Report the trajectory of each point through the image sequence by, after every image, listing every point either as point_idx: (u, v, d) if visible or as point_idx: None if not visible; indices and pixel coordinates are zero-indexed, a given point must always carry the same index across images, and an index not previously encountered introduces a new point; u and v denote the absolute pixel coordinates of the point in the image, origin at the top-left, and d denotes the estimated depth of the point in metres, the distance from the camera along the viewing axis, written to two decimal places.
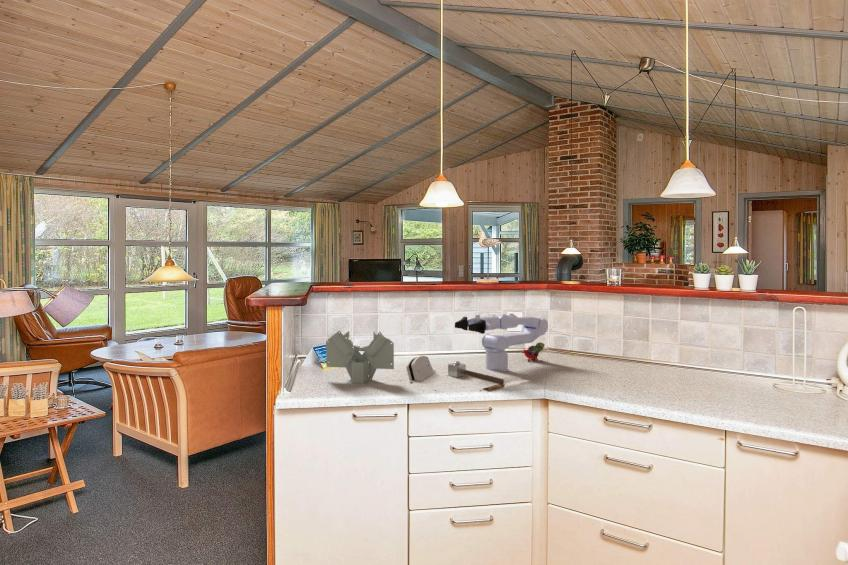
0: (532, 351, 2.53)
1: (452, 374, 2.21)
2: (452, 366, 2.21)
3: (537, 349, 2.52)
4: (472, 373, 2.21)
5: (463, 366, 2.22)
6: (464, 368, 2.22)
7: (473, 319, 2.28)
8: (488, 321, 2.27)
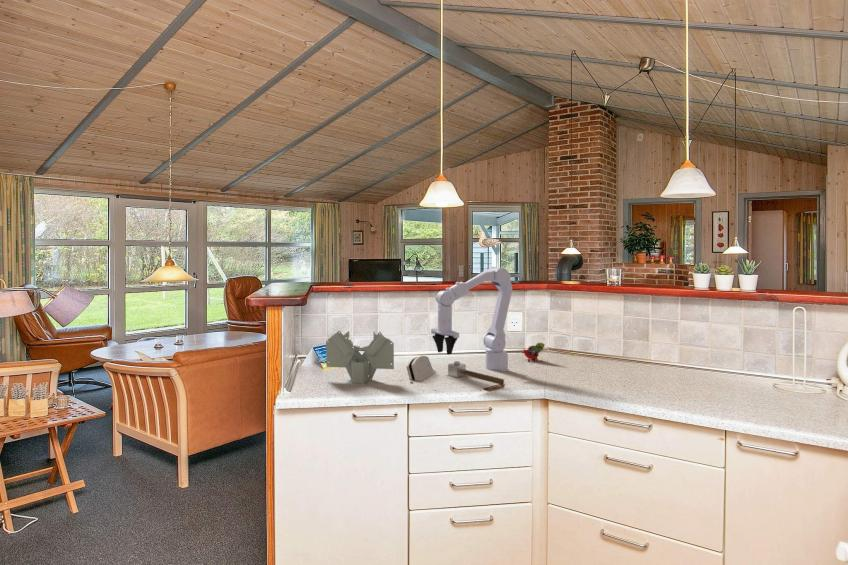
0: (532, 351, 2.53)
1: (452, 374, 2.21)
2: (452, 366, 2.21)
3: (537, 349, 2.52)
4: (472, 373, 2.21)
5: (463, 366, 2.22)
6: (464, 368, 2.22)
7: None
8: (446, 323, 2.24)
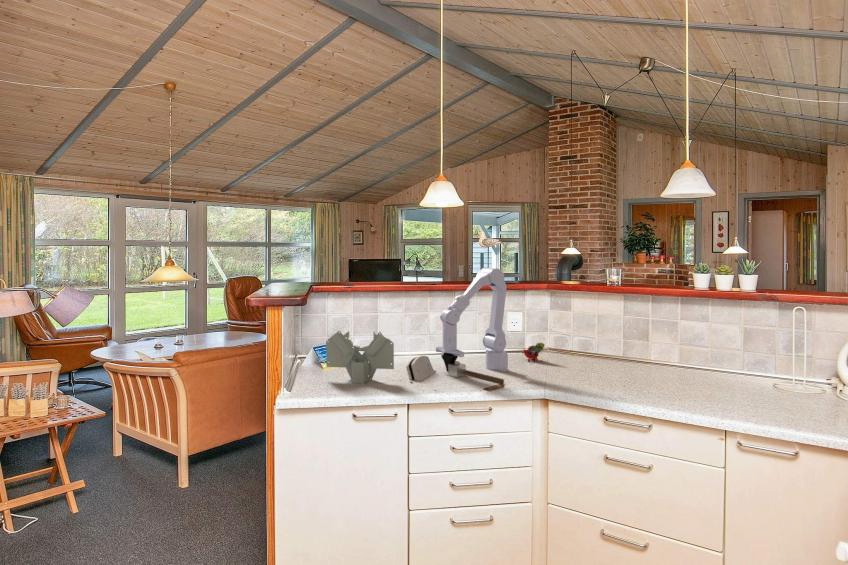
0: (532, 351, 2.53)
1: (452, 374, 2.21)
2: (452, 366, 2.21)
3: (537, 349, 2.52)
4: (472, 373, 2.21)
5: (463, 366, 2.22)
6: (464, 368, 2.22)
7: None
8: (451, 342, 2.22)
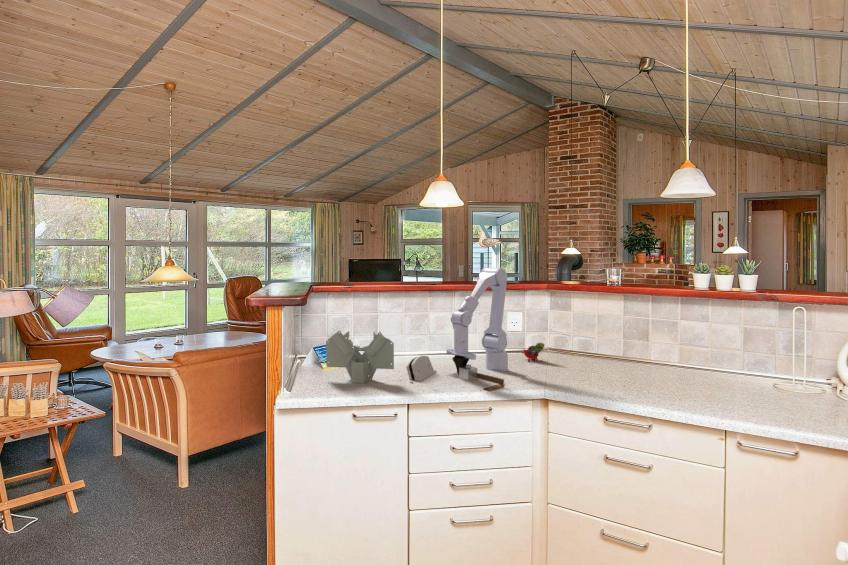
0: (532, 351, 2.53)
1: (463, 378, 2.17)
2: (463, 369, 2.16)
3: (537, 349, 2.52)
4: None
5: (474, 369, 2.17)
6: (475, 371, 2.17)
7: None
8: (463, 344, 2.18)
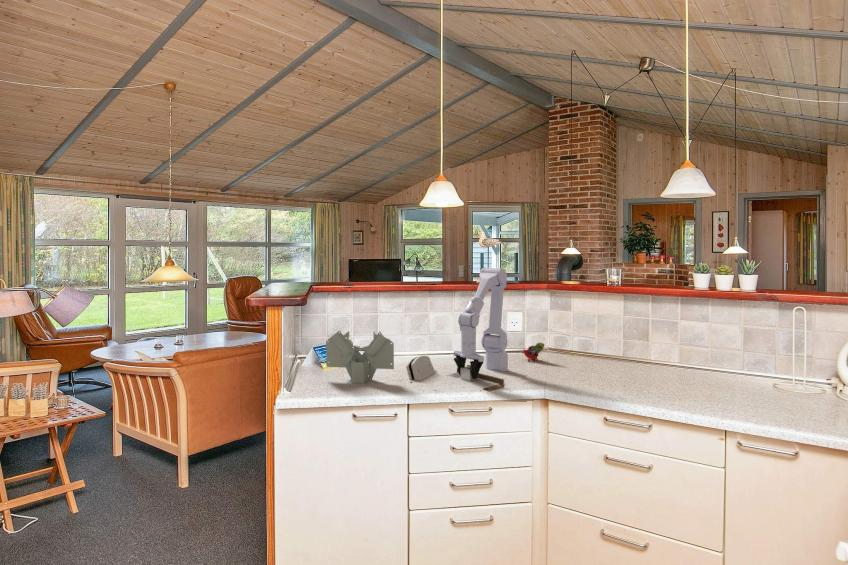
0: (532, 351, 2.53)
1: (465, 378, 2.16)
2: (465, 370, 2.16)
3: (537, 349, 2.52)
4: None
5: None
6: None
7: None
8: (470, 346, 2.15)
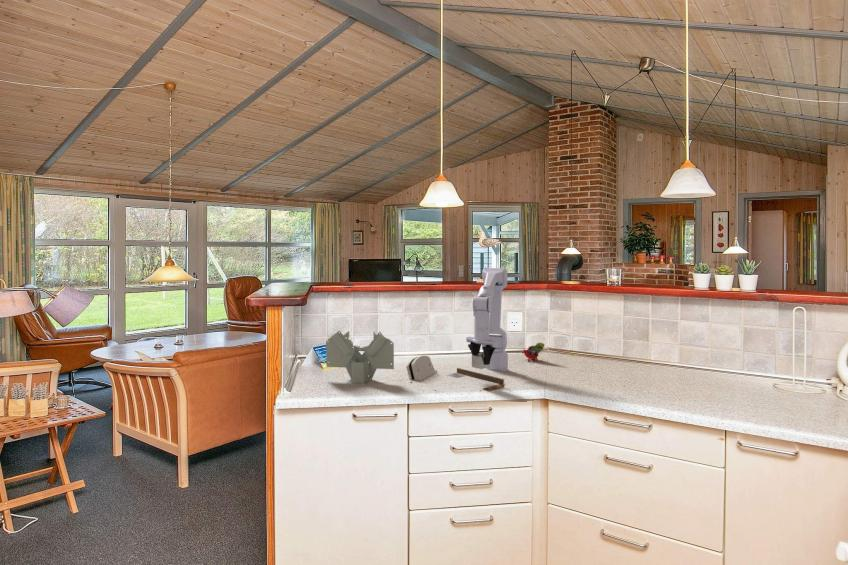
0: (532, 351, 2.53)
1: (476, 366, 2.11)
2: (476, 357, 2.10)
3: (537, 349, 2.52)
4: (472, 373, 2.21)
5: None
6: None
7: None
8: (484, 331, 2.09)
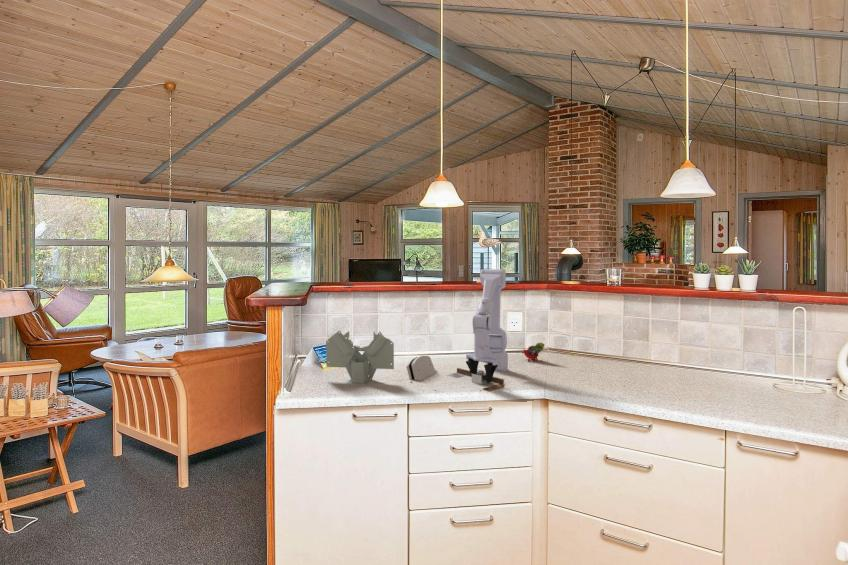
0: (532, 351, 2.53)
1: None
2: (476, 376, 2.11)
3: (537, 349, 2.52)
4: None
5: None
6: None
7: None
8: (484, 349, 2.09)
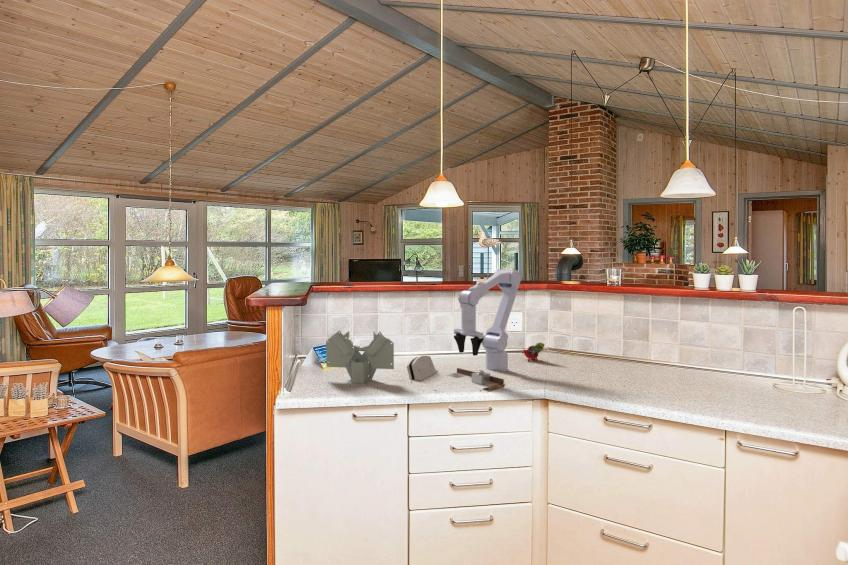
0: (532, 351, 2.53)
1: None
2: (476, 376, 2.11)
3: (537, 349, 2.52)
4: None
5: (488, 375, 2.12)
6: (488, 378, 2.12)
7: None
8: (470, 323, 2.20)
